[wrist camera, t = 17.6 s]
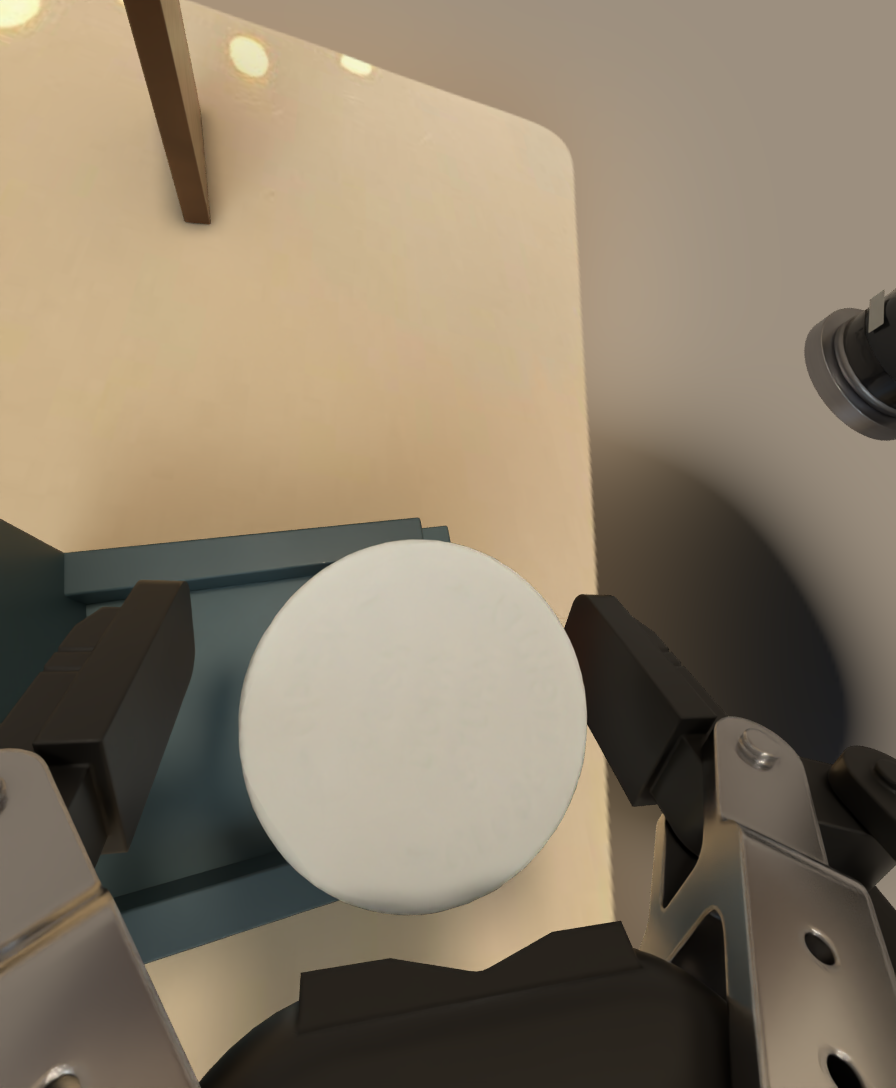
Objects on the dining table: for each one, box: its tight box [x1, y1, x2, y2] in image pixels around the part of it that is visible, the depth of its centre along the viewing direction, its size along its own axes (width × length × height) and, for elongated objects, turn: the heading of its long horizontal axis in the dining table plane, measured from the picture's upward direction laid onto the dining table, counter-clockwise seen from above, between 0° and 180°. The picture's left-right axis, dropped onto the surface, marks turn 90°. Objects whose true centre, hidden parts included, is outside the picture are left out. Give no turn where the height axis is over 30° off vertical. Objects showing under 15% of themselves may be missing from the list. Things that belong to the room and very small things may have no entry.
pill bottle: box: [239, 539, 587, 915], centre depth 12 cm, size 6×6×11 cm
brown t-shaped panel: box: [123, 0, 210, 224], centre depth 21 cm, size 2×8×10 cm, turn 11°
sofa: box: [0, 518, 451, 964], centre depth 16 cm, size 15×12×8 cm
